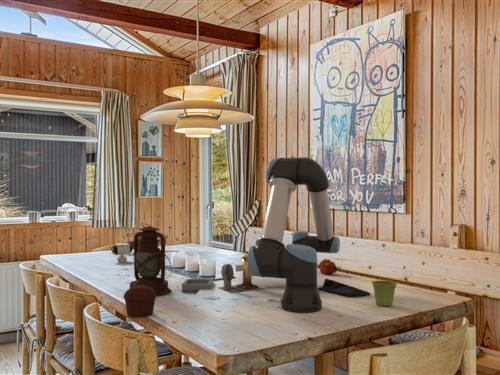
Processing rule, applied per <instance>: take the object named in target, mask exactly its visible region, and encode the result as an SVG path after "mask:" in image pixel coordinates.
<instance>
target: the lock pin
mask: <svg viewBox="0 0 500 375" xmlns="http://www.w3.org/2000/svg"><path fill="white" fill-rule="evenodd" d="M247 256H248V254H241V256H240V258H241V259H242V265H243V271H242V284H243V286H244V287H248V286H252V284H253V283H252V282H253V276H252V274H251V272H250V270H249V267H248V260H247Z"/></svg>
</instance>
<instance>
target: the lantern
mask: <svg viewBox="0 0 500 375" xmlns="http://www.w3.org/2000/svg"><path fill="white" fill-rule="evenodd" d="M145 225H147V226H145ZM140 226H141V228H139V229H138V232H135V234H134V236H133V241H134V249H133V266H134V267H133V271H134V278H135V280H133V281H130V282H129V289H130V288H131V287H133V286H138V285H144V286H148V287H150V288H152V289H153V290H154V291H155V293H156V295H157V296H156V298H157V297H164V296H168V295H170V294H171V293H172V289H170V288H169V281H168V280H166V279H168V278H170V277H171V276H172V274H173V271H171V272H170V274H169V276H167V277H165V276H166V259H167V260H168V261H169V264H170V268H171V269H173V265H172V263H171V261H170V259H169V257H168V256H167V255H166V244H167V240H166V239H165V237H164V236H165V235H164V234H163V233H161V232H158V231H159V230H160V228H157V227H154V226H151V225H150V224H148V223H143V222H141V223H140ZM139 237H141V240H138V238H139ZM158 238H159V239H161V245H160V247H159V245H158V241H160V240H159V239H158ZM138 241H139V242H140V244H139V243H138ZM138 244H139V245H140V248H139V249H138ZM158 276H159V277H158Z"/></svg>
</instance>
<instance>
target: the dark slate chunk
mask: <svg viewBox="0 0 500 375" xmlns="http://www.w3.org/2000/svg"><path fill="white" fill-rule="evenodd" d="M317 289H318V291H323V292H326V293H330V294H335V295H339V296H343V297H347V296H348V298H351V297H366V295H369V296H371V295H370V294H372V293H371V292H368V291H367V290H364V289H360V288H359V287H358V288H357V287H355V286H352V285H348V284H345V283H342V282H339V281H336V280H332V279H329V278H325V279H324V281H323V285H322V286H320V287H317Z"/></svg>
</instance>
